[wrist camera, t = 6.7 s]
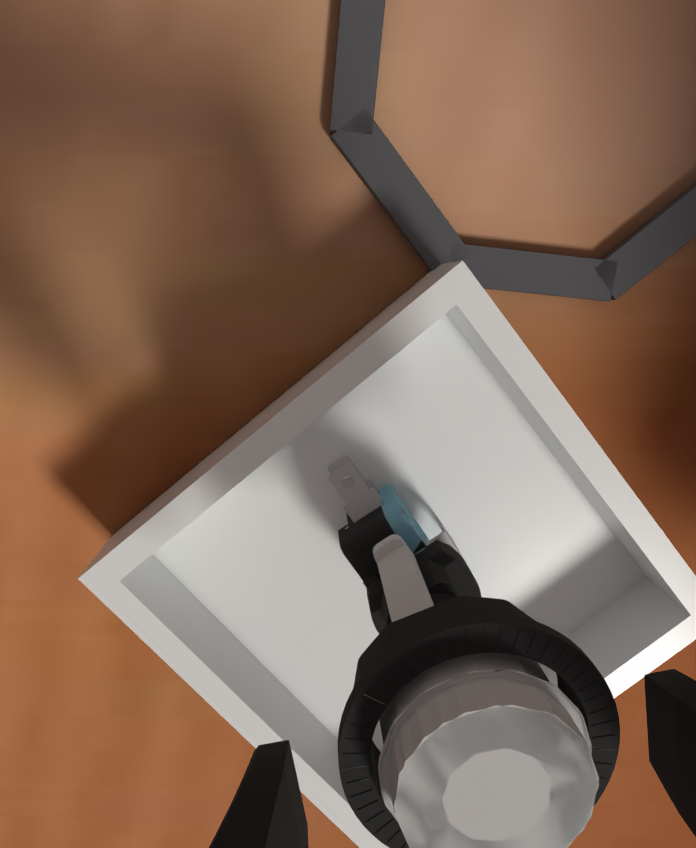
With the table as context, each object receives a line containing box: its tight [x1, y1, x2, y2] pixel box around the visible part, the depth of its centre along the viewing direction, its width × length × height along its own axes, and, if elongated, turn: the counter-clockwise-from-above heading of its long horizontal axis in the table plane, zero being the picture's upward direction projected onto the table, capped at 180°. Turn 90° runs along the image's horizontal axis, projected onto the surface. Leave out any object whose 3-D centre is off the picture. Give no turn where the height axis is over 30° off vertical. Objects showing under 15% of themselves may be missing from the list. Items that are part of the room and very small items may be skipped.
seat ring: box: [330, 0, 696, 301], centre depth 17 cm, size 13×13×1 cm
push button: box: [328, 455, 620, 848], centre depth 15 cm, size 7×5×10 cm
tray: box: [78, 260, 696, 848], centre depth 19 cm, size 14×14×3 cm
